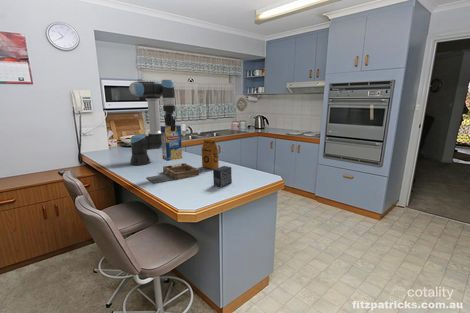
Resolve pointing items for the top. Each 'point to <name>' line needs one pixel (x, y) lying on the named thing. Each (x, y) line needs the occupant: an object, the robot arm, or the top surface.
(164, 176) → the mat
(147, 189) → the top surface
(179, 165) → the offcut stack
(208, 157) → the coffee package
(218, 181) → the small box
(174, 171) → the frame
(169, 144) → the beverage box
